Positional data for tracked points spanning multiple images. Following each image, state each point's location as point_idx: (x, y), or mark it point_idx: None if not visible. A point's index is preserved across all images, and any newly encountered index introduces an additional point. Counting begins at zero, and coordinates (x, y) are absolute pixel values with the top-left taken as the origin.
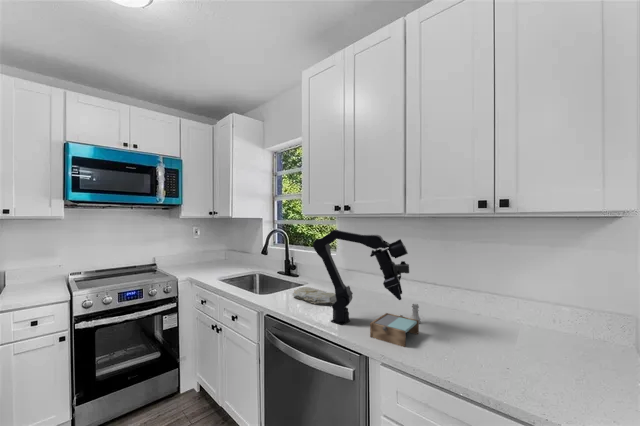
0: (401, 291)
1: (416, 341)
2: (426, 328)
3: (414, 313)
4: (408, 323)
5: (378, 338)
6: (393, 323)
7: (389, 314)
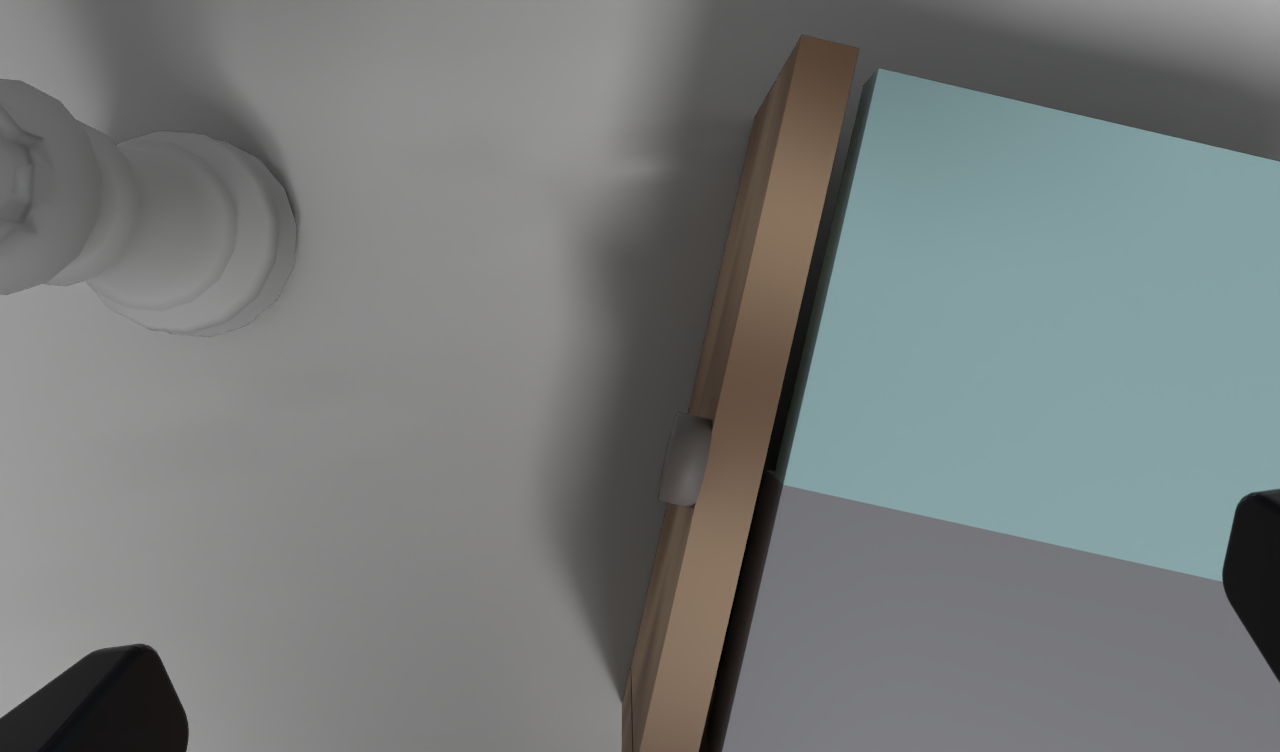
0: (97, 731)
1: (1083, 114)
2: (435, 12)
3: (163, 226)
4: (1110, 224)
5: None
6: None
7: (698, 742)
